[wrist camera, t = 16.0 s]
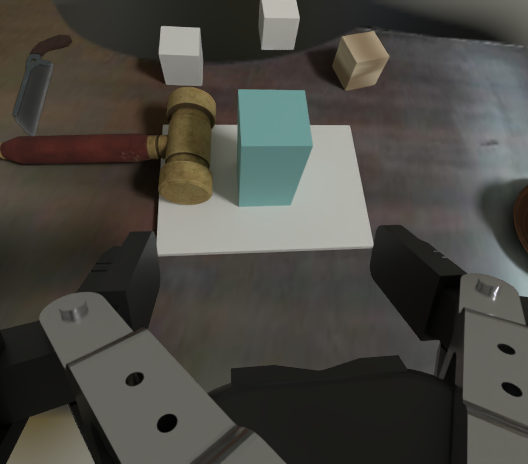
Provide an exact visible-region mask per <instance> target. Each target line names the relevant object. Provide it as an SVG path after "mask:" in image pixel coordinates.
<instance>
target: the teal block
mask: <svg viewBox="0 0 528 464" xmlns="http://www.w3.org/2000/svg"><path fill="white" fill-rule="evenodd" d="M312 147H313V142H312V136H311V129H310V122H309V116H308V109H307V102H306V96H305V90H238V123H237V178H238V198H239V207H252V206H290V205H291V203H292V201H293V198H294V195H295V193H296V190H297V187H298V185H299V182H300V179H301V177H302V174H303V171H304V169H305V166H306V163H307V161H308V158H309V155H310V153H311V150H312Z"/></svg>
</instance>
